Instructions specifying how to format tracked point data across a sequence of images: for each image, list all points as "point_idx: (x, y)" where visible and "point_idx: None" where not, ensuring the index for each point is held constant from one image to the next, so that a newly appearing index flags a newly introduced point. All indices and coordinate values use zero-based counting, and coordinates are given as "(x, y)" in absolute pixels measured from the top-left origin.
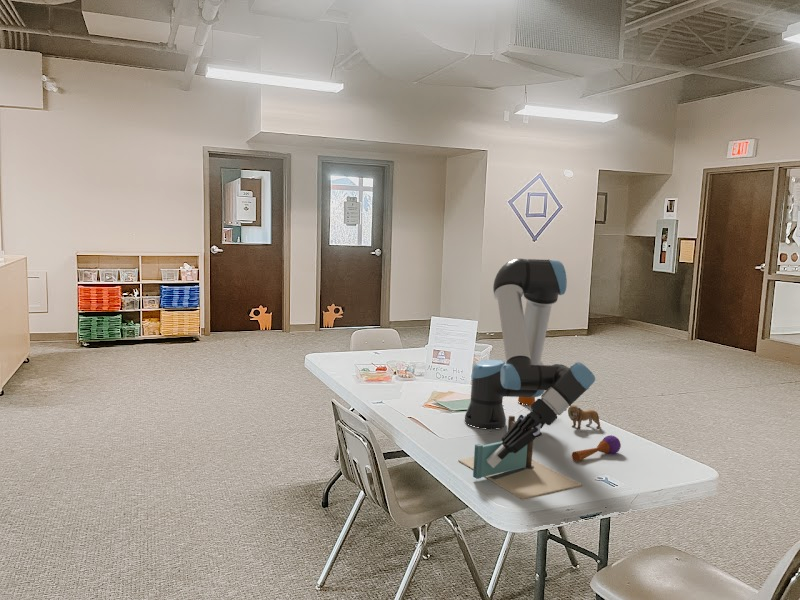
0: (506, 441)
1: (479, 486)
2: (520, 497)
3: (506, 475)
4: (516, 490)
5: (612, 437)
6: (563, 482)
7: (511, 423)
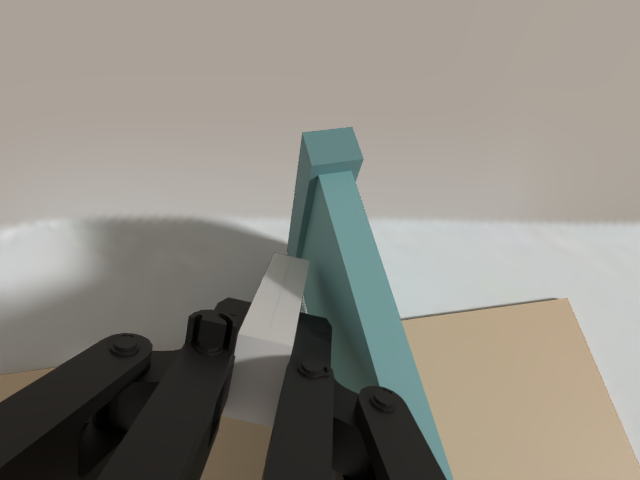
0: (282, 390)
1: (238, 246)
2: (4, 375)
3: None
4: None
5: None
6: None
7: None
